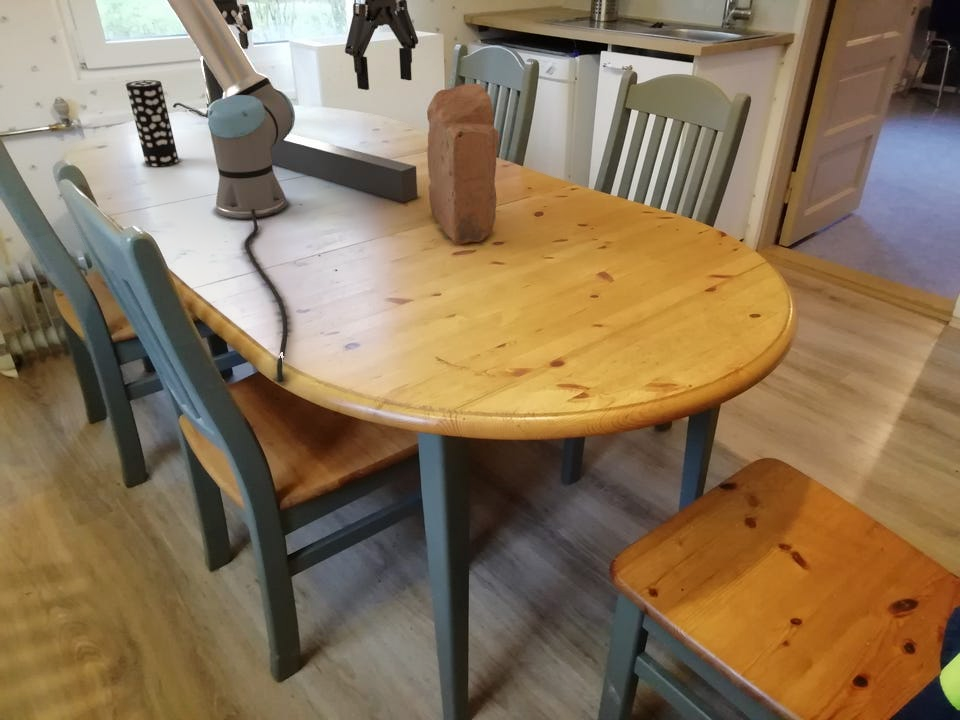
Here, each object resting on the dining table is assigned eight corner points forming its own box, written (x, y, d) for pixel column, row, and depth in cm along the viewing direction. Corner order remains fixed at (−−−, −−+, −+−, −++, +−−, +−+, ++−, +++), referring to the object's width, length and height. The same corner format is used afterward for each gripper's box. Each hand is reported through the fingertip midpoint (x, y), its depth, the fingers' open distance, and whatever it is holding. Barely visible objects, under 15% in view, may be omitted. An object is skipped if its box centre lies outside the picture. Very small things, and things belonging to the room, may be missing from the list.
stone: (507, 241, 142) (509, 97, 128) (455, 247, 139) (451, 101, 125) (475, 209, 160) (474, 80, 146) (428, 214, 157) (422, 83, 143)
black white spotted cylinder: (184, 157, 190) (167, 80, 179) (169, 166, 183) (151, 87, 172) (155, 156, 190) (136, 79, 179) (139, 165, 183) (119, 86, 172)
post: (417, 197, 165) (416, 166, 161) (403, 202, 162) (401, 171, 158) (240, 146, 200) (236, 120, 196) (226, 150, 197) (221, 123, 192)
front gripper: (406, -29, 152) (410, 73, 163) (320, -24, 135) (331, 90, 146) (432, -27, 148) (434, 77, 159) (347, -21, 131) (356, 95, 143)
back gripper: (233, -22, 178) (244, 46, 187) (184, -20, 169) (198, 52, 177) (252, -21, 174) (262, 49, 183) (202, -18, 165) (216, 55, 173)
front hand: (385, 84), depth 153 cm, fingers open, 13 cm apart
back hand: (230, 50), depth 180 cm, fingers open, 8 cm apart
